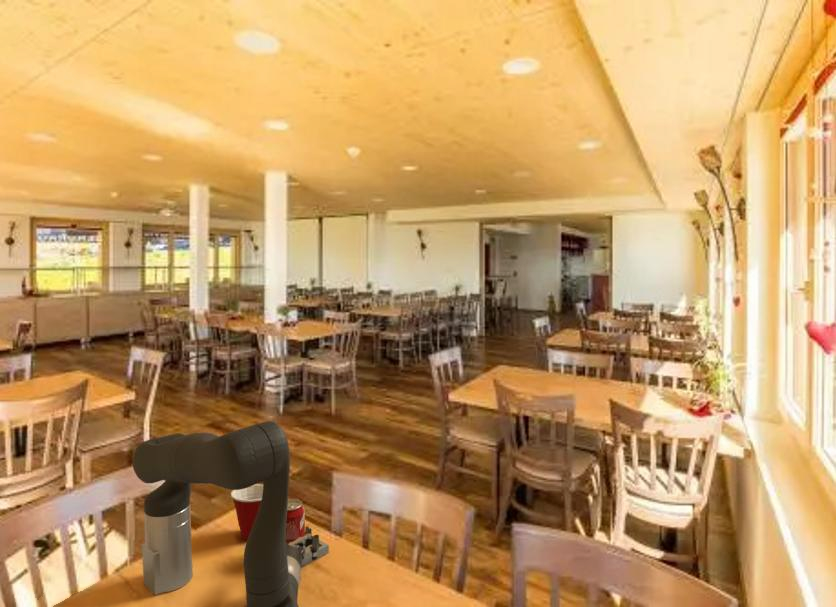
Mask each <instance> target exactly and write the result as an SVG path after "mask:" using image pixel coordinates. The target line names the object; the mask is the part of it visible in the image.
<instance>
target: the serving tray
mask: <svg viewBox="0 0 836 607" xmlns="http://www.w3.org/2000/svg"><path fill="white" fill-rule="evenodd" d="M329 546H330V545H329V544H327V543H326V542H324V541H322V540H321V539H319V550H318V557H317V559H316V560H312V557H305V558H304V559H303V560H302V568H304V567H306V566H307V565H310V564H312V563H313V562H315V561H317V560H319V559H321V558H323V557H324V556H326V555H327V553H328V554H329V551H330V549H329ZM309 548H310V547H309ZM309 548H307V549H306V550H308V549H309ZM306 550H305V551H306Z"/></svg>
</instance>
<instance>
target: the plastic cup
mask: <svg viewBox="0 0 836 607" xmlns="http://www.w3.org/2000/svg"><path fill="white" fill-rule="evenodd" d="M262 494H263V484H259V483H257V484H255V485H252V486H250V487H248V488H244V489H240V490H231V492H230V495H231V496H230V497H231V498H232V501H233V504H234V508H235V512H236V518H237V523H238V527H239V530H240V536H241V538H242V540H245V541H247V540H248V537H249V534H250V532H251V529H252V526H253V524H254V521H255V519H256V516H257V513H258V511H259V507H260V504H261V500H262Z"/></svg>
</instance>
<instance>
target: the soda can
mask: <svg viewBox="0 0 836 607" xmlns="http://www.w3.org/2000/svg"><path fill="white" fill-rule="evenodd" d="M305 516H306V513H305V507H304V506H303V501H302V500H300V499H298V498H288V506H287V519H286V542H291V541H295V540H296V539H298V538H299V537H303V536H305V527H306V522H305V521H306V520H305V519H306V518H305Z"/></svg>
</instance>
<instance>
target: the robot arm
mask: <svg viewBox="0 0 836 607" xmlns="http://www.w3.org/2000/svg"><path fill="white" fill-rule="evenodd" d="M290 453H291V452H290V444H289V441H288V437H287V435H286V433H285V430H284V429H283V428H282V426H281V425H280V424H279V423H277V422H275V421H272V420H267V421H262V422H258V423H254V424H252V425H248V426H245V427H242V428H239V429H236V430H232V431H230V432H227V433H224V434H222V435H220V436H218V435H216V434H214V433H211V432H196V433H190V434H186V435H185V434H183V433H180V432H179V433H173V434H168V435H164V436H160V437H156V438H155V437H154V438H151V439H147V440H145V441H142V442H141V443H139V444H138V445H137V446H136V448H135V450H134V452H133V454H132V455H133V456H132V470H133V471H134V473H135V476H136V477H137V478H138V479H139V480H140V481H141V482H142V483H144V484H154V483H158V482H162V481H164V482H162V484H160V485H159V486H158V487H157V488H155V489H154V490H153V491H151V492H150V493H149V494H147V495H146V497H145V499H144V501H143V510H144V511H143V515H144V537H145V541H144V542H143V543H142V544H141V553H142V572H143V573H142V574H143V576H142V577H143V579H142V580H143V585H144V586H145V587H146V588H147V589H148V590H149V591H150V592H151V594H153V595H154V596H157V595H159V594H162V593H169V592H172V591H175V590H178V589H180V588H182V587H184V586H185V585H187V584H188V583H189V582H190V581H191V580H192V579H193V573H194V572H193V555H192V554H193V552H192V550H193V549H192V526H191V525H192V522H191V493H192V484H197V485H198V484H204V485H205V484H212V485H214V486H218V487H220V488H223V489H225V490H231V491H233V490H240V489H244V488H248V487H250V486H252V485H255V484H260V483H262V482H263V483H262V485H263V494H262V500H261V504H260V507H259V511H258V513H257V516H256V519H255V521H254V524H253V526H252V529H251V532H250V534H249V537H248V540H246V542H245V548H244V553H243V572H244V582H245V592H246V593H245V594H246V598H245V600H246V601H245V607H299V604H298V595H299V586H300V585H301V580H302V568H303V567H302V560H303V559H304V558H305V557H312V560H315V561H317V560H318V559H317V557H318V550H319V540H320V536H319V534H314V535H312V528H309V526H305V536H303V537H299V538H298V539H296V540H295V541H291V542H286V519H287V506H288V499H289V490H290V489H289V486H290V472H291V471H290V469H291V455H290ZM309 547H310V548H309ZM307 548H309V549H308V550H306V549H307ZM305 550H306V551H305ZM316 559H317V560H316Z"/></svg>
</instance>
